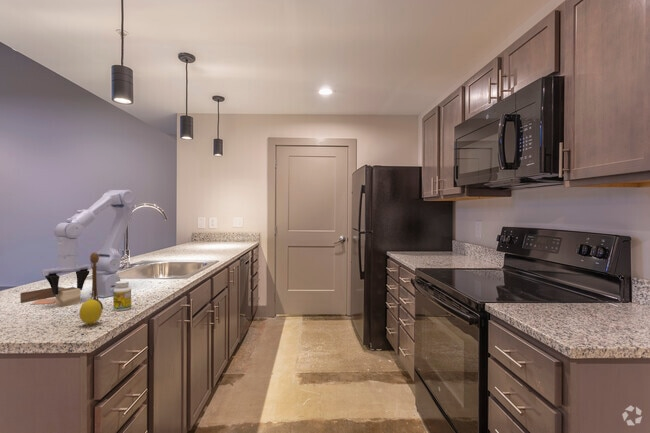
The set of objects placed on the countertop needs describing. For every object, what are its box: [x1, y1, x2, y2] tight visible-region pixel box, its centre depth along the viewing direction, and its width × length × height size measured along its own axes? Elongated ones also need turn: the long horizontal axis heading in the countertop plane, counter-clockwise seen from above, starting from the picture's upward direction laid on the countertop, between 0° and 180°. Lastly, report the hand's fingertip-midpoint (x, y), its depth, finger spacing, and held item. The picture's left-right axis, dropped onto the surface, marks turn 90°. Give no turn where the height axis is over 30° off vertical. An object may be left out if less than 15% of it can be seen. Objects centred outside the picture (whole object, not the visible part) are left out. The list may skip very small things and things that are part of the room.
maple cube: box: [55, 286, 82, 308], centre depth 123 cm, size 6×6×6 cm
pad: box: [29, 297, 56, 306], centre depth 126 cm, size 7×7×1 cm
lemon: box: [79, 298, 103, 326], centre depth 101 cm, size 6×6×8 cm
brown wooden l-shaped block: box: [19, 286, 66, 304], centre depth 126 cm, size 13×12×4 cm
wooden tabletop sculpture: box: [89, 252, 104, 310], centre depth 117 cm, size 6×5×20 cm
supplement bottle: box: [112, 280, 132, 312], centre depth 117 cm, size 5×5×10 cm
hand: (67, 292), depth 123 cm, fingers open, 7 cm apart
